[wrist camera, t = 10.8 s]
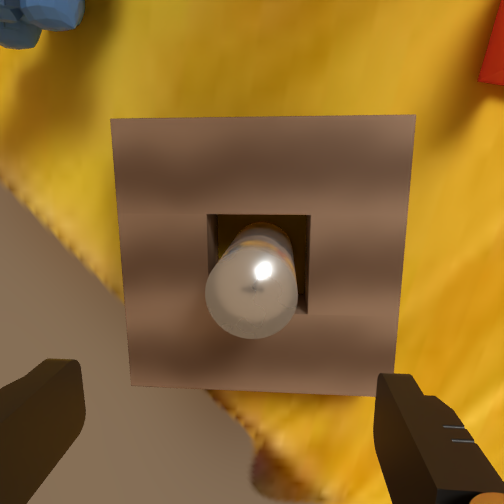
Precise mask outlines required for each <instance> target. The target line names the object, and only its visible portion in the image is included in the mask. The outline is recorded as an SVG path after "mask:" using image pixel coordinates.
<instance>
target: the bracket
mask: <svg viewBox="0 0 504 504" xmlns="http://www.w3.org/2000/svg"><path fill="white" fill-rule="evenodd" d="M478 82H484V83H490V84H496V85H502V86H504V0H501V2H500V6H499V9H498V12H497V16H496V19H495V23H494V26H493V30H492V33H491V37H490V40H489V43H488V47H487V50H486V54H485V57H484V61H483V64H482V67H481V71H480V74H479V78H478Z"/></svg>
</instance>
